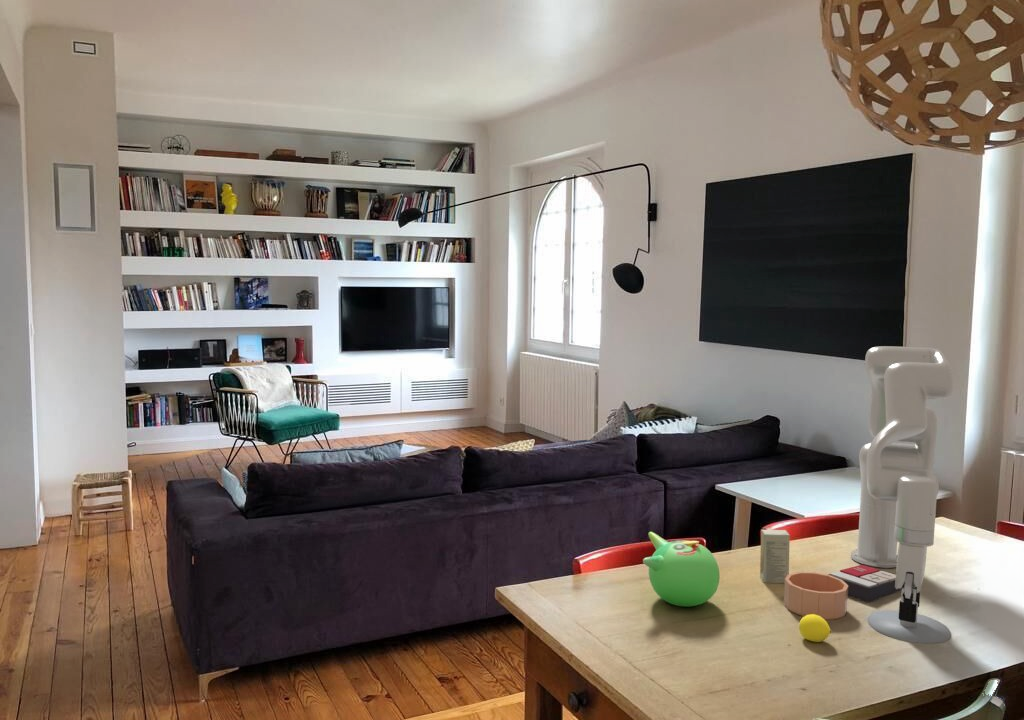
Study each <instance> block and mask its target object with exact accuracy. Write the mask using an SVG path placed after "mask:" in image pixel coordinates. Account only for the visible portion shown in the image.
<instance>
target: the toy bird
mask: <svg viewBox="0 0 1024 720" xmlns="http://www.w3.org/2000/svg"><path fill="white" fill-rule="evenodd" d="M648 538H649V540H650V542H651V543H652V544H653V545H652V546H653V547H654V548H655V551H654V552H653V554H652V555H651V556H647V557H644V558H643V559H642V563H643V564H644V565H646V567H648V578H649V581H650V584H651V587H652V588H653V591H654V592H655V593H656V595H657V596H658V597H660V598H661V599H662V600H663V601H665V602H666V603H669V604H670V605H674V606H678V607H685V608H686V607H688V608H690V607H694V606H698V605H702V604H704V603H706V602H708V601H709V600H710V599H711V598H713V596H714V594H715V593H716V592H717V590H718V587H719V584H720V580H721V579H720V578H721V577H720V576H721V575H720V568H719V565H718V562H717V560H716V557H715V556H714V555H713V553H712V552H711V551H710V550H709V549H708V548H707V547H706V546H704V545H702V544H699V543H700V541H699V540H683V539H682V540H681V539H677V540H673V541H667V540H666V539H664V538H662V537H661V535H660V536H659V534H657V533H655V532H653V531H649V532H648Z"/></svg>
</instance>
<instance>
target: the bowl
mask: <svg viewBox="0 0 1024 720" xmlns="http://www.w3.org/2000/svg"><path fill="white" fill-rule="evenodd" d="M783 589H784V591H783V604H784V607H785V608H786V609H787V610H788V611H790V612H791V613H793V614H796V615H798V616H801V617H804V616H806V615H810V614H815V615H818V616H821V617H822V618H823V619H824V620H826V621H830V620H838V619H839V620H840V619H841V618H844V617H845V616H846V615H847V614H846V613H847V611H848V601H849V599H848V598H849V596H848V585H847V584H846V583H845V582H844V581H843V580H841V579H839V578H836V577H833V576H831V575H828V574H825V573H821V572H815V571H797V572H793V573H789V574H788V575H787V576H786V578H785V583H784V588H783Z"/></svg>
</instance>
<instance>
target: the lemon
mask: <svg viewBox="0 0 1024 720" xmlns="http://www.w3.org/2000/svg"><path fill="white" fill-rule="evenodd" d="M798 629H799V632H800V634H801V636H802V637H803V638H804V639H805V640H807V641H809V642H813V643H819V642H823V641H825V640H826V639H827V638H828V637H829V636H830V634H831V633H832V630H831V628H830V625H829V624H828V622H827V620H824V619H823V618H822V617H821V616H818V615H815V614H810V615H806V616H802V618H801V619H800V621H799V623H798Z"/></svg>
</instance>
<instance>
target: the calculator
mask: <svg viewBox="0 0 1024 720" xmlns="http://www.w3.org/2000/svg"><path fill="white" fill-rule="evenodd" d="M827 575H831V576H833V577H836V578H839V579H841V580H843V581H844V582H845V583H846V584H847V585H848V597H850V598H853V599H856V600H859V601H862V602H864V603H868V604H870V603H871V602H874V601H877V600H879V599H880V598H881V597H886V596H889V595H892V594H895V593H897V592H900V591H902V587H901V589H900V588H898V589H896V588H895V581H896V574H894V573H890V572H888V571H884V570H880V569H878V568H876V567H872V566H869V565H865V564H860V565H855V566H851V567H847V568H842V569H840V570H839V571H834V572H830V573H828V574H827Z"/></svg>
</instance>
